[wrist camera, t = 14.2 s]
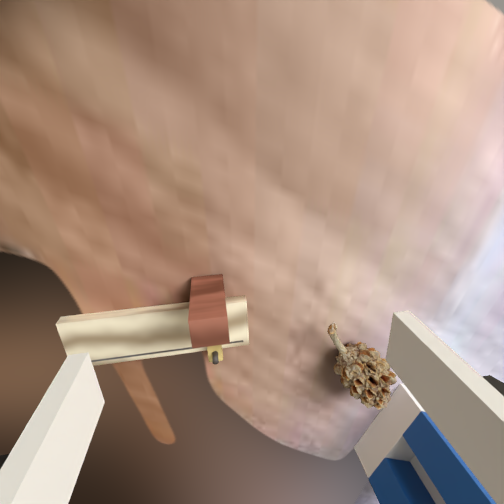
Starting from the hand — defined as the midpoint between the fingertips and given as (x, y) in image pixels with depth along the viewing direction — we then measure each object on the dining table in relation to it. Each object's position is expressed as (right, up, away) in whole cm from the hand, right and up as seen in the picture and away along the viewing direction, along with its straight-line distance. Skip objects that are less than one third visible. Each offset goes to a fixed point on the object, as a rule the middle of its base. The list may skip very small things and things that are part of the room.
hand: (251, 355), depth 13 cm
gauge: (-7, -6, +39) cm, 40 cm away
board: (-16, -9, +39) cm, 43 cm away
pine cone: (+18, -14, +47) cm, 52 cm away
